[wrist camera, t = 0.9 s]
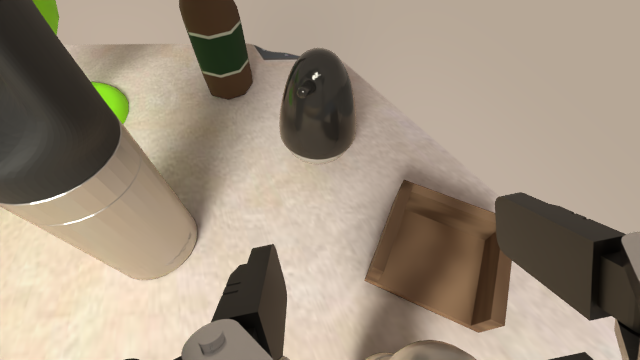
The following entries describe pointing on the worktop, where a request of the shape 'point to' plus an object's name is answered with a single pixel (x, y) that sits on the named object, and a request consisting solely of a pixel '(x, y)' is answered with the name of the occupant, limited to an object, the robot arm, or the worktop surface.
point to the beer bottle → (218, 45)
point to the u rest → (443, 258)
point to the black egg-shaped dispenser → (318, 108)
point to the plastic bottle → (425, 352)
